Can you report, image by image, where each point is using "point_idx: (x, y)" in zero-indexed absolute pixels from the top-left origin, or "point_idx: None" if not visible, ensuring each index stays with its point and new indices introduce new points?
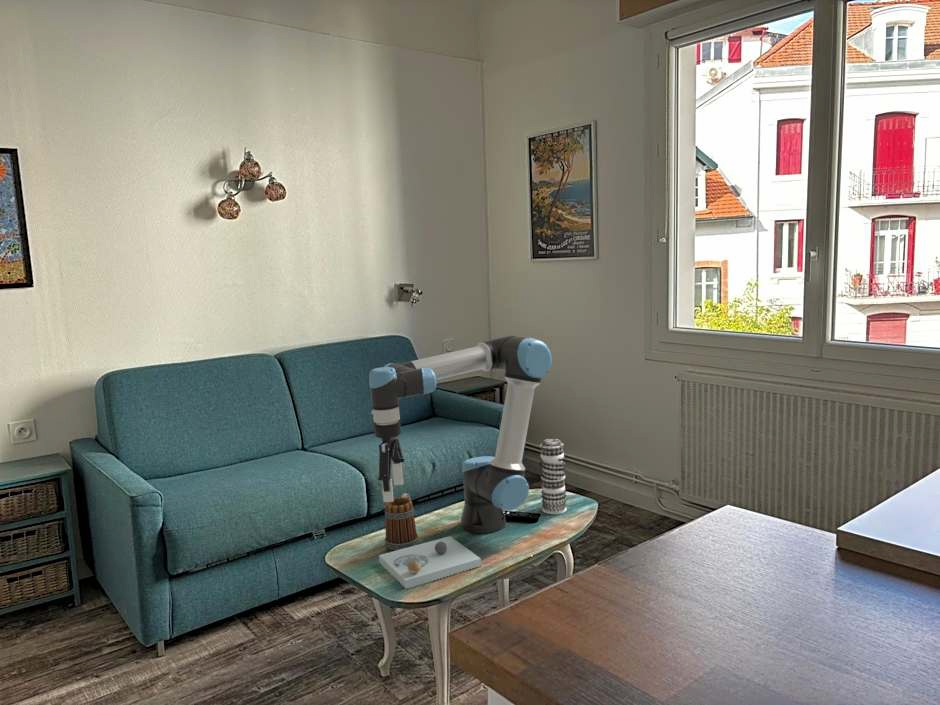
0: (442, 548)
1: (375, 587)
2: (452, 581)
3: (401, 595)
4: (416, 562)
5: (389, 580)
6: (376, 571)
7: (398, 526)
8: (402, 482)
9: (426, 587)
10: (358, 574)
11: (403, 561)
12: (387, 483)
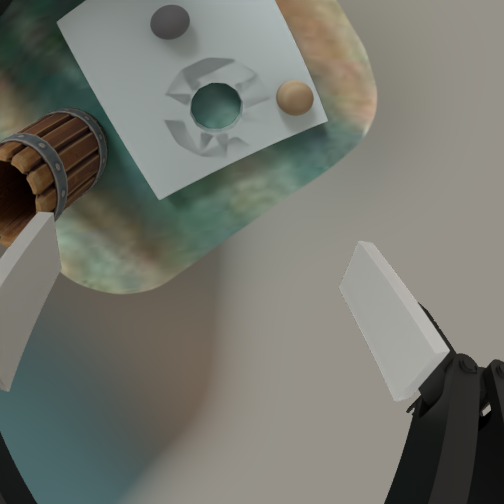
0: (187, 15)
1: (294, 187)
2: (304, 7)
3: (347, 128)
4: (305, 91)
5: (265, 157)
6: (209, 193)
7: (76, 171)
8: (46, 223)
9: (323, 69)
10: (219, 231)
11: (202, 128)
12: (448, 347)
